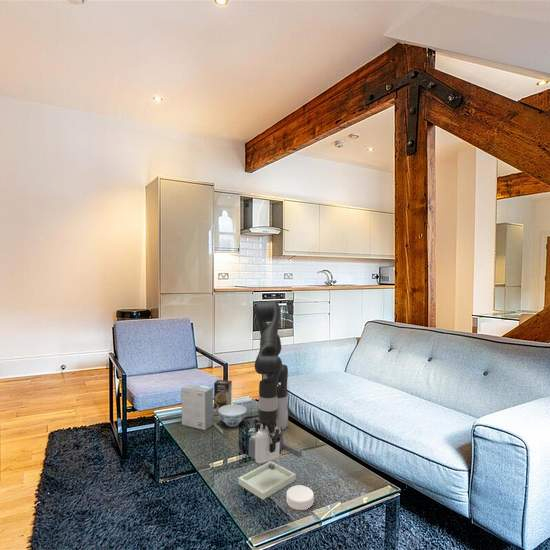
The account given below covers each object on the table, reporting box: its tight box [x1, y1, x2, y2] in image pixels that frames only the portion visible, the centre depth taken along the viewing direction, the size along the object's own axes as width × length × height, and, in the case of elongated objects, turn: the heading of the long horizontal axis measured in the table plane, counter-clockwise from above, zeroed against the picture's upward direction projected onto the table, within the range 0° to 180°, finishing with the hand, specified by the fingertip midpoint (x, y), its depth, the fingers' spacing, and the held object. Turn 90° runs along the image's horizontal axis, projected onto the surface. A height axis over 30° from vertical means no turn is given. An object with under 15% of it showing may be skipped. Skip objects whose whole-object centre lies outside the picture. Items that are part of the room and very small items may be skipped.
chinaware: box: [217, 403, 248, 427], centre depth 203 cm, size 15×15×8 cm
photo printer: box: [254, 428, 281, 464], centre depth 149 cm, size 10×4×12 cm, turn 124°
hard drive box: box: [180, 383, 214, 431], centre depth 201 cm, size 16×8×20 cm, turn 65°
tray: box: [237, 460, 297, 501], centre depth 150 cm, size 18×14×2 cm
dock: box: [248, 430, 302, 470], centre depth 170 cm, size 18×16×9 cm
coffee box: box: [213, 379, 233, 411], centre depth 223 cm, size 9×6×16 cm
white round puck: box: [285, 484, 315, 511], centre depth 138 cm, size 10×10×4 cm
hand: (267, 449), depth 150 cm, fingers closed on photo printer, 4 cm apart
